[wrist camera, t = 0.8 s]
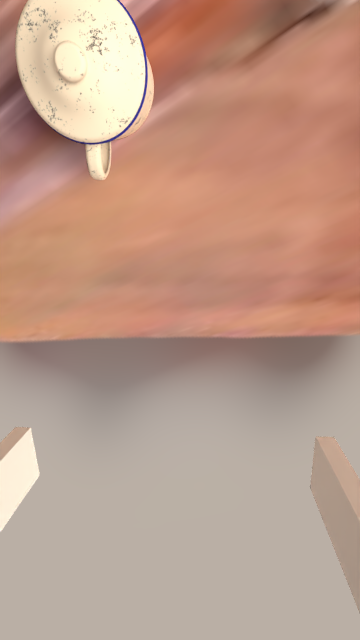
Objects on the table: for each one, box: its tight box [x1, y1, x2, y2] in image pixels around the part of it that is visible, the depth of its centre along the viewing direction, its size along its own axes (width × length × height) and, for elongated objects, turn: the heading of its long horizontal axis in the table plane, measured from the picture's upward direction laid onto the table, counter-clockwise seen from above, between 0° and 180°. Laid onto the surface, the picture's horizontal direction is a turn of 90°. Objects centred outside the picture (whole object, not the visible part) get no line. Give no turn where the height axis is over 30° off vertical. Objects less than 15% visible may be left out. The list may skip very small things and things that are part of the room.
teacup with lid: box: [15, 0, 154, 180], centre depth 25 cm, size 12×9×12 cm
